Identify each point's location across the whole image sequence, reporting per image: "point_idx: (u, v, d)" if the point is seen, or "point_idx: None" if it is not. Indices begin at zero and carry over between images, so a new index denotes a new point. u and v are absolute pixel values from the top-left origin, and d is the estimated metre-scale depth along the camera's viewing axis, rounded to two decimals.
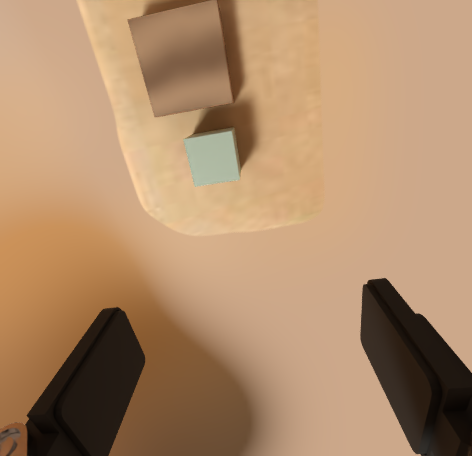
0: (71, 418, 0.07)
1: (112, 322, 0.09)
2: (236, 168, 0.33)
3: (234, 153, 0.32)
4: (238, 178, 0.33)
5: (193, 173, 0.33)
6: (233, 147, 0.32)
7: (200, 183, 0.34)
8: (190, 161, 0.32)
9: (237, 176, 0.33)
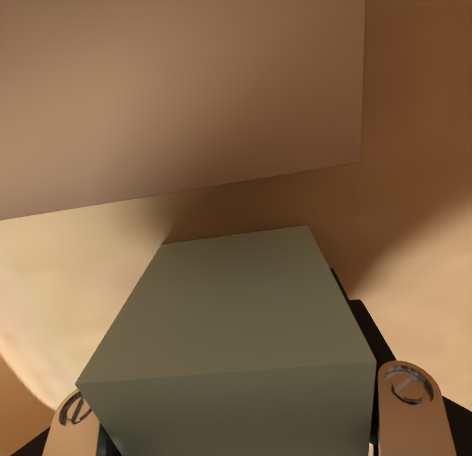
0: None
1: None
2: None
3: (363, 440, 0.06)
4: None
5: None
6: (364, 422, 0.06)
7: None
8: (129, 454, 0.06)
9: None
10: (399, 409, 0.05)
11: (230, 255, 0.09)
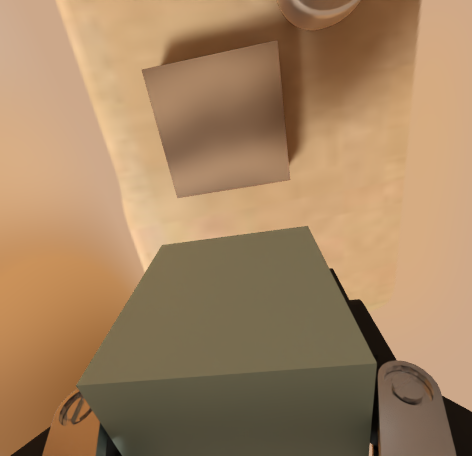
0: None
1: None
2: None
3: (363, 442, 0.06)
4: None
5: None
6: (365, 423, 0.06)
7: None
8: (130, 455, 0.06)
9: None
10: (399, 409, 0.05)
11: (230, 256, 0.09)
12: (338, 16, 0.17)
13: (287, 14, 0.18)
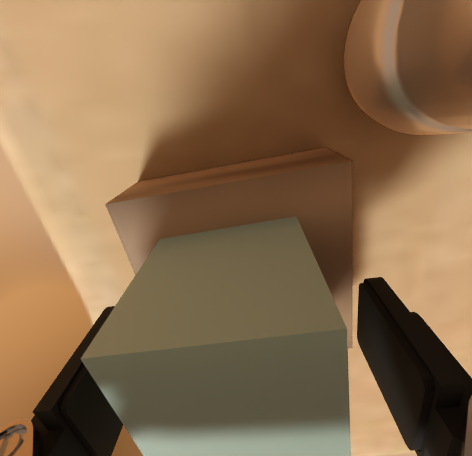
0: (76, 414, 0.07)
1: None
2: (343, 448, 0.07)
3: (343, 406, 0.06)
4: None
5: (151, 455, 0.08)
6: (342, 388, 0.06)
7: None
8: (132, 426, 0.07)
9: None
10: None
11: (223, 246, 0.10)
12: None
13: (372, 113, 0.10)
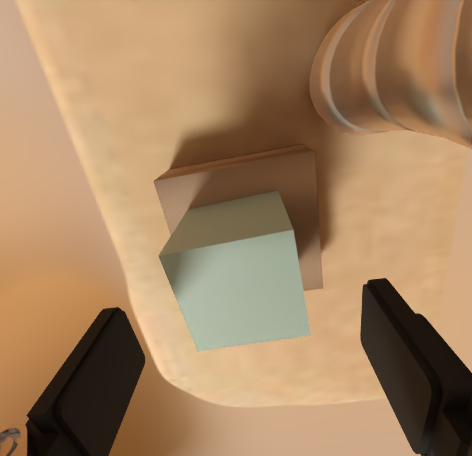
0: (71, 418, 0.07)
1: (112, 322, 0.09)
2: (303, 313, 0.12)
3: (298, 281, 0.12)
4: (307, 333, 0.13)
5: (192, 326, 0.13)
6: (296, 268, 0.11)
7: (211, 344, 0.14)
8: (182, 302, 0.12)
9: (304, 329, 0.13)
10: None
11: (230, 208, 0.15)
12: None
13: (326, 121, 0.15)
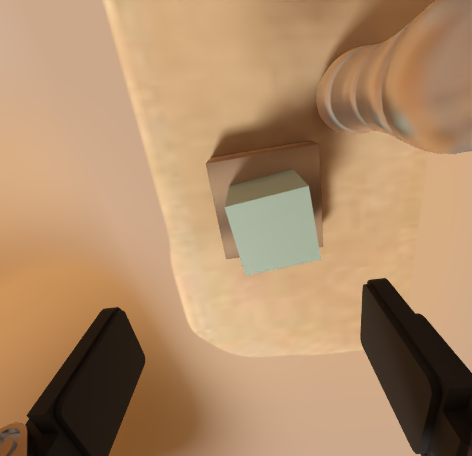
0: (71, 418, 0.07)
1: (112, 322, 0.09)
2: (315, 243, 0.19)
3: (312, 221, 0.19)
4: (318, 258, 0.20)
5: (243, 256, 0.20)
6: (311, 211, 0.18)
7: (255, 269, 0.20)
8: (237, 239, 0.19)
9: (317, 255, 0.20)
10: None
11: (262, 181, 0.22)
12: None
13: (327, 124, 0.22)
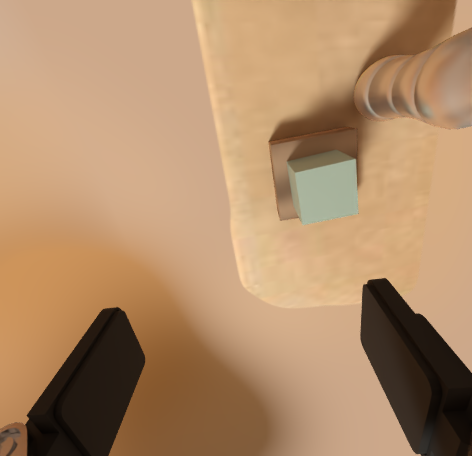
0: (71, 418, 0.07)
1: (112, 322, 0.09)
2: (355, 201, 0.27)
3: (355, 184, 0.27)
4: (357, 212, 0.28)
5: (302, 210, 0.28)
6: (355, 177, 0.26)
7: (310, 220, 0.28)
8: (300, 197, 0.27)
9: (356, 210, 0.28)
10: None
11: (314, 157, 0.30)
12: None
13: (363, 113, 0.30)
